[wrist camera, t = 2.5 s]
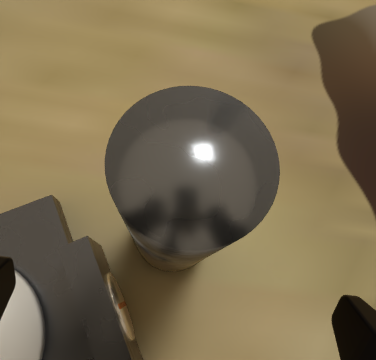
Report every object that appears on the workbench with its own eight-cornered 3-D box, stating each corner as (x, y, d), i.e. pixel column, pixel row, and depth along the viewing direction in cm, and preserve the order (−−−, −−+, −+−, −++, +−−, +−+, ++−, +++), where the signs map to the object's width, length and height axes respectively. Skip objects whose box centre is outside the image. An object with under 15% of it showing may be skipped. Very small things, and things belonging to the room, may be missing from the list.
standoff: (220, 253, 19) (310, 207, 8) (152, 284, 18) (145, 282, 7) (190, 188, 20) (232, 66, 9) (124, 214, 19) (80, 116, 8)
